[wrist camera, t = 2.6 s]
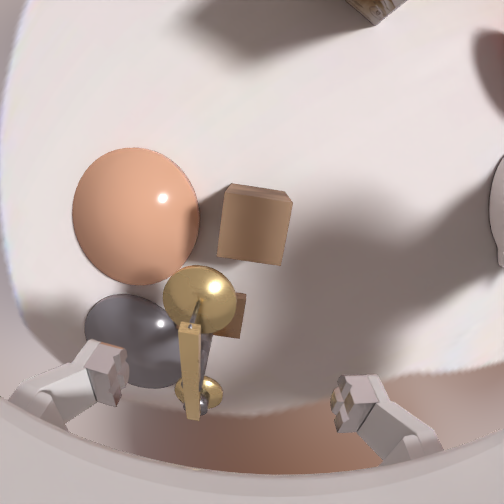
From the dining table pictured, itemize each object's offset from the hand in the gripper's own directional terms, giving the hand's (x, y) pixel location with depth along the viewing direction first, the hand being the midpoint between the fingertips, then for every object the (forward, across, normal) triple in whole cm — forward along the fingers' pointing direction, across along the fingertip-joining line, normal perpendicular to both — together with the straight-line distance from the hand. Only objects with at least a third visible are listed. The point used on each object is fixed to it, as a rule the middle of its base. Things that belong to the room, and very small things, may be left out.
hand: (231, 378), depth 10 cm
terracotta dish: (+19, +12, 0) cm, 22 cm away
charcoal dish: (+19, +12, +16) cm, 27 cm away
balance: (+19, +3, +9) cm, 21 cm away
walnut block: (+19, 0, -2) cm, 19 cm away
